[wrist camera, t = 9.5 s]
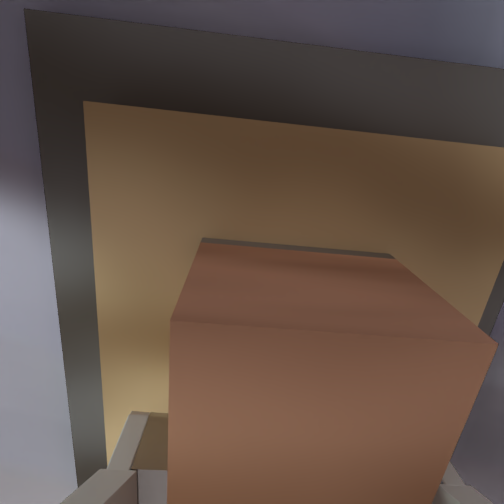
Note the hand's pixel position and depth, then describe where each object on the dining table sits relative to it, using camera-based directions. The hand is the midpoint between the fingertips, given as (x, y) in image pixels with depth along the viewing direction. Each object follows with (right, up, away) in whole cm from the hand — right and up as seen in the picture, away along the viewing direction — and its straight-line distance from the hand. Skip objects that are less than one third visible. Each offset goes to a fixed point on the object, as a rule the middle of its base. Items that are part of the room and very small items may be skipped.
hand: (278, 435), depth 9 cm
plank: (-1, -5, +6) cm, 8 cm away
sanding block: (0, +1, +1) cm, 2 cm away
